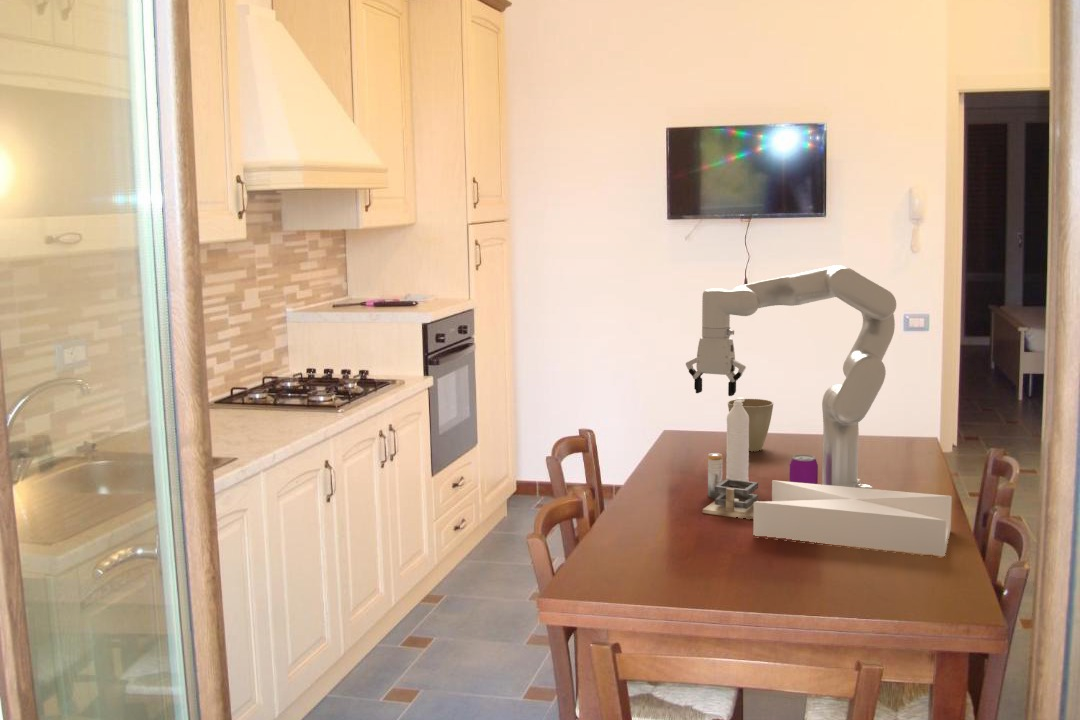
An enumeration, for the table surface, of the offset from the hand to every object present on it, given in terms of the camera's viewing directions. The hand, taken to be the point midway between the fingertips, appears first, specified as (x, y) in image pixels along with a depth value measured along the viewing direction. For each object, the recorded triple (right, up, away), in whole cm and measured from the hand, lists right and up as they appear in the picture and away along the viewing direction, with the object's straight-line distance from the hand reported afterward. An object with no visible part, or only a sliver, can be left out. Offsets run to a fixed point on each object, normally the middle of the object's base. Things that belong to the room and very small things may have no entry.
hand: (715, 393), depth 304 cm
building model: (+29, -35, -31) cm, 55 cm away
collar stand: (+4, -31, -9) cm, 33 cm away
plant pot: (+21, -21, +59) cm, 66 cm away
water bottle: (+10, -27, +18) cm, 34 cm away
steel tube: (+1, -29, +4) cm, 30 cm away
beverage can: (+25, -30, 0) cm, 38 cm away
